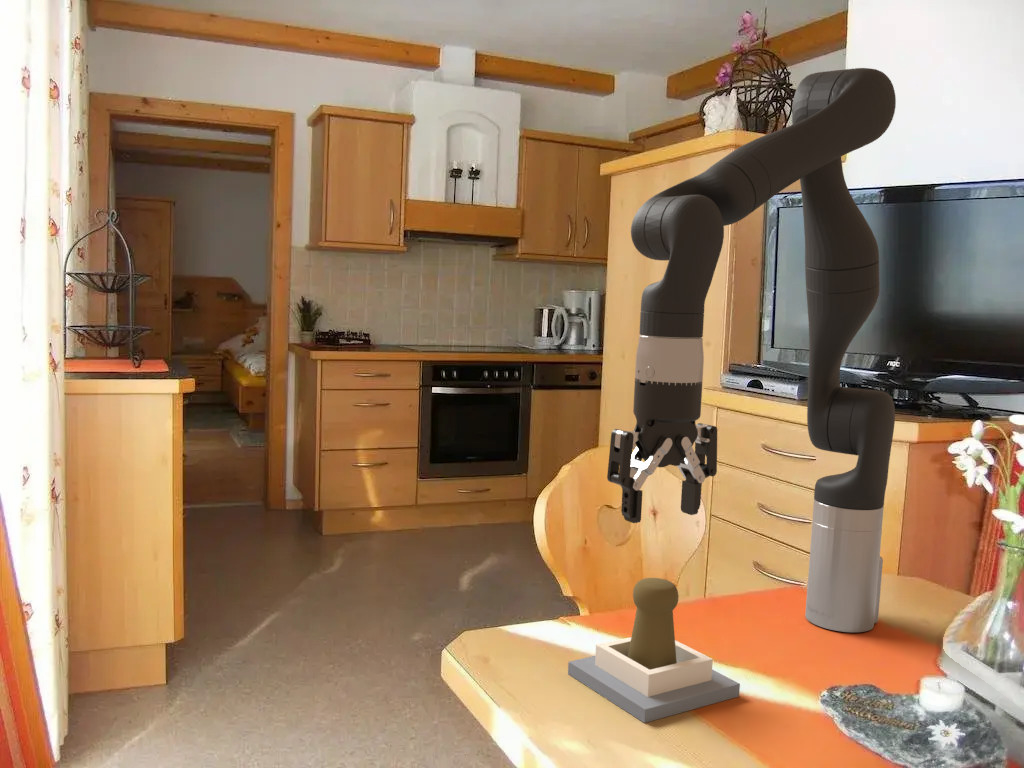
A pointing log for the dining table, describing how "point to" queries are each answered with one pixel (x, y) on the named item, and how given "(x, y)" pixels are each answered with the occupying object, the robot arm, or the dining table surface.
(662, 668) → the board
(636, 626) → the olive brown knobbed peg
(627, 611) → the dining table surface
